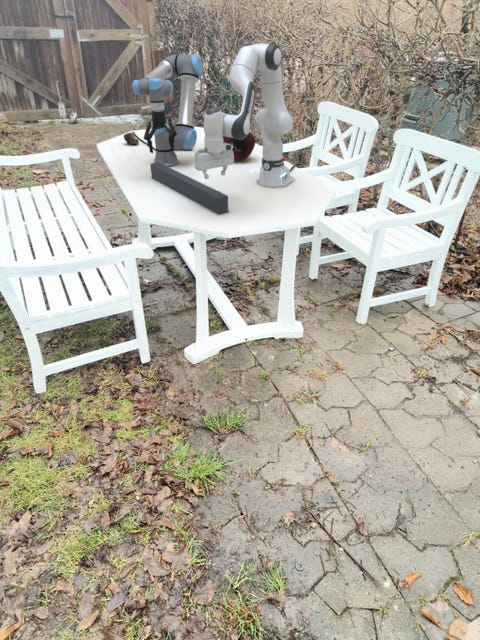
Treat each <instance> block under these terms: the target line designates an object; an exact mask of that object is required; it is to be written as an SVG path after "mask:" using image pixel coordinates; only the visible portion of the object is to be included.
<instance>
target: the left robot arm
mask: <svg viewBox="0 0 480 640" xmlns="http://www.w3.org/2000/svg"><path fill="white" fill-rule="evenodd" d="M203 74H204V65H203V61H202V58H201V56H200V55H198V54H193V53H191V54H187V53H185V54H183V53H182V54H181V53H180V54H179V53H176V54H172V55H169V56H167V57H165V58H163V59H162V60H161V61H159V62H158V65H157V66H156V67H155V68H154V69H153V70H151V71H150V72H149V73H147V74H146V75H144V77H143V78H141V79H134V80H133V81H132V83H131V88H132V92H133V94H135V95H138V96H149V103H150V110H151V112H150V115H151V120H147V121H146V126H145V127H146V128H145V131H144V136H143V139H141V138H140V137H139V136H138V135H137V134H136V133H135V132H134V131H133V130H132V133H134V135H135V138H136V139H138V141H141V143H144V144H145V145H147V147H148V148H149V153H150V154H154V151H155V155H154V163H158V162H159V163H161V164H163V165H165V166H167V167H174V166H177V165H178V164H179V159H178V155H177V153H176V151H175V150H174V148H183V149H191V148H193V149H194V147H195V146H196V143H197V140H198V135H197V134H198V133H197V130H196V129H195V126H194V125H193V120H194V119H193V118H194V109H195V107H194V106H195V95H196V86H197V85H196V84H197V83H198V82H199V80H200V79H199V78H201V77H202V76H203ZM171 77H179V79H180V81H181V87H180V98H179V111H178V112H179V113H178V119H179V121H178V123H177V124H176V127H175V128H174V127H173V126H174V124H173V123H172V120H171V119H172V118H168V117H167V118H166V111H165V109H166V108H165V97H167V96H169V95H171V94H172V93H173V91H174V84H173V83H172V81H170V80H168V79H169V78H171ZM153 136H154V145H155V147H154V146H153V141H152V138H153ZM191 150H192V149H191Z"/></svg>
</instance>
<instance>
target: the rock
mask: <svg viewBox="0 0 480 640" xmlns="http://www.w3.org/2000/svg"><path fill="white" fill-rule="evenodd" d="M134 133H135V132H134ZM134 133H133V132H127V133H125V134H123V139H124V141H125V142H126V143H127V144H128V145H139V144H140V140H139V139H138V138H137V137H136V136H135V135H134Z"/></svg>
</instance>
